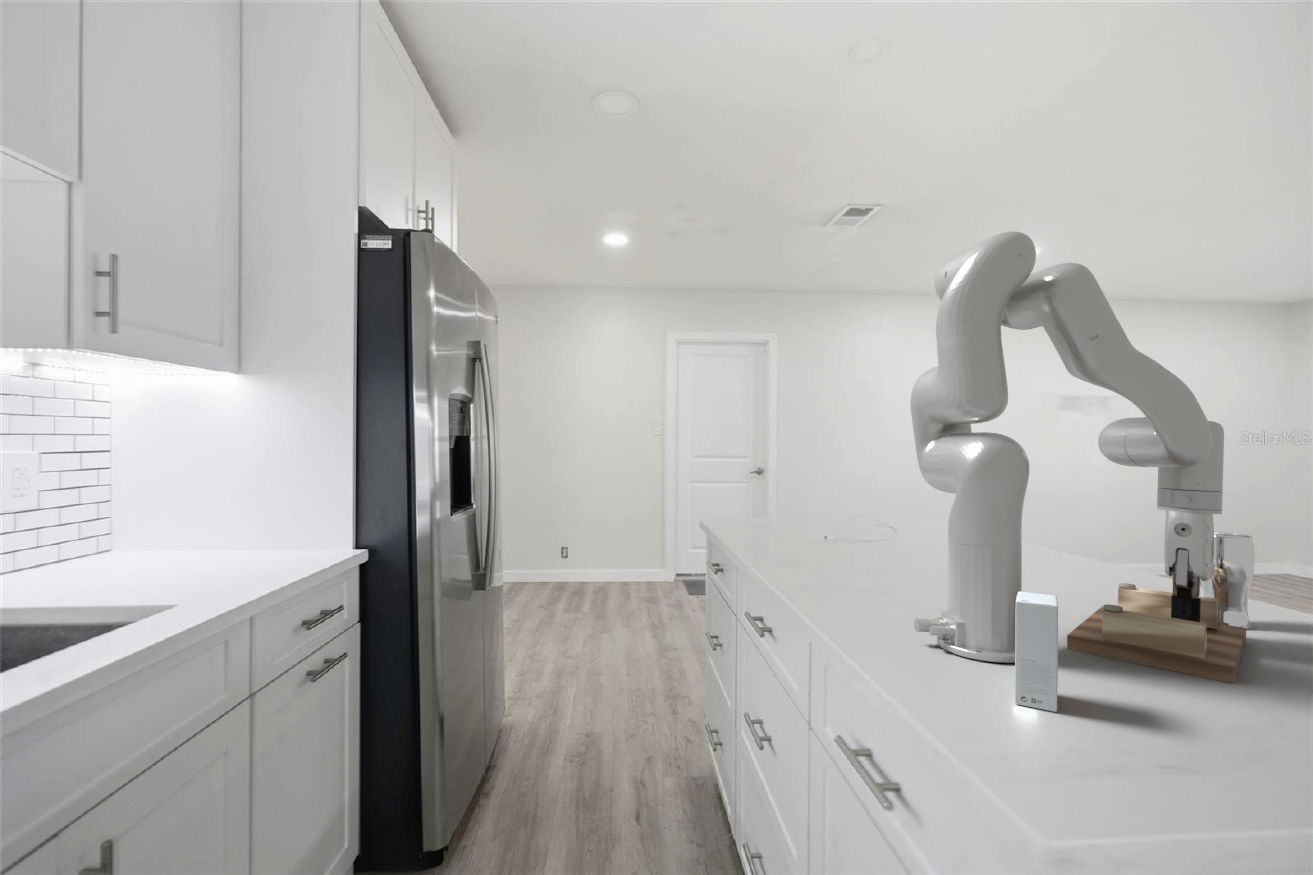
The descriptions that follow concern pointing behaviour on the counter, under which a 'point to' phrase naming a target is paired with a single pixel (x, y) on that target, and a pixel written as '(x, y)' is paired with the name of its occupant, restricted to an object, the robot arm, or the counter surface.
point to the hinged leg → (1162, 603)
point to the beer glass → (1232, 577)
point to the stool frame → (1162, 642)
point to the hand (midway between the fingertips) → (1185, 622)
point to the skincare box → (1036, 650)
